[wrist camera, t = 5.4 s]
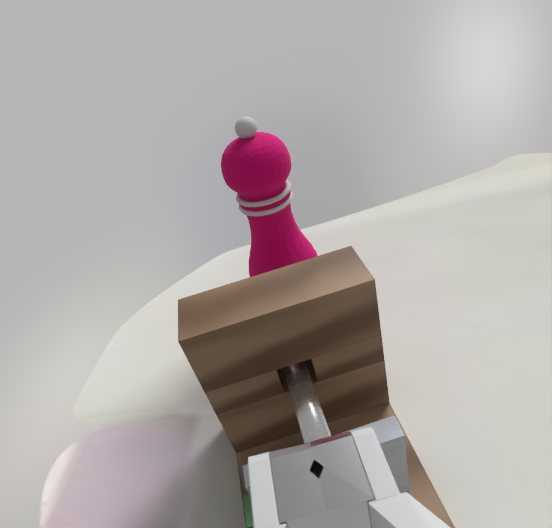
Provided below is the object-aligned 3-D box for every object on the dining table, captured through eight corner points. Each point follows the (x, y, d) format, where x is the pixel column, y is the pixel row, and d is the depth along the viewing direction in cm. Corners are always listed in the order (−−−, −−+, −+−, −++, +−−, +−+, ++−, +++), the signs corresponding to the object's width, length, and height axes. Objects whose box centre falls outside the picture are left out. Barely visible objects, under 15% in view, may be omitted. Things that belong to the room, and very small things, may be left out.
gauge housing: (475, 576, 23) (491, 446, 15) (265, 649, 22) (179, 550, 15) (370, 371, 35) (351, 245, 28) (234, 415, 35) (178, 299, 27)
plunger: (413, 536, 23) (404, 435, 17) (248, 592, 23) (185, 508, 17) (342, 374, 33) (322, 276, 27) (227, 412, 33) (182, 320, 27)
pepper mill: (340, 293, 44) (305, 101, 33) (296, 336, 40) (239, 137, 29) (291, 273, 49) (245, 100, 37) (247, 310, 45) (182, 131, 34)
